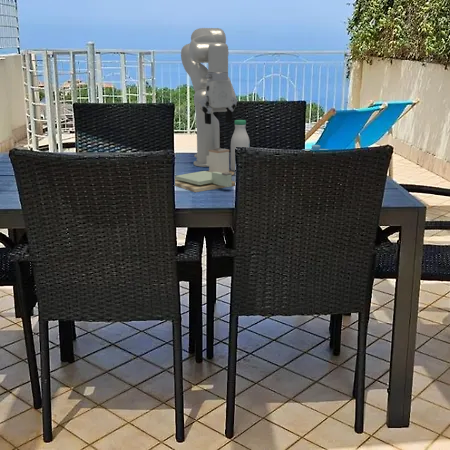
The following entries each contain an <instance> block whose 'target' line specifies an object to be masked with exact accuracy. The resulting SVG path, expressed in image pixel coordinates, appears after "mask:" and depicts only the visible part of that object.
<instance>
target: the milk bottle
mask: <svg viewBox="0 0 450 450" xmlns="http://www.w3.org/2000/svg"><path fill="white" fill-rule="evenodd" d="M246 126H247V120H246V119H235V120H234V131H233V134H232V137H231V139H230V171H233V172H236V171H235V149H236V147H251V145H250V144H251V143H250V137H249V135H248V133H247V130H246Z"/></svg>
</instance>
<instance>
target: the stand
mask: <svg viewBox="0 0 450 450" xmlns="http://www.w3.org/2000/svg"><path fill="white" fill-rule="evenodd" d="M174 179H175V178H174ZM235 182H236V181H234V180H232V186H231V187H235ZM175 187H178V188H180V189H184V190H188V191H190V192H193V193H200V192H204V191H211V190H216V189H223V188H226V187H225V186H221V185H217V184H213V183H208V184H203V185H197V184H193V183H189V182H185V181H181V180H176V179H175Z"/></svg>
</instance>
